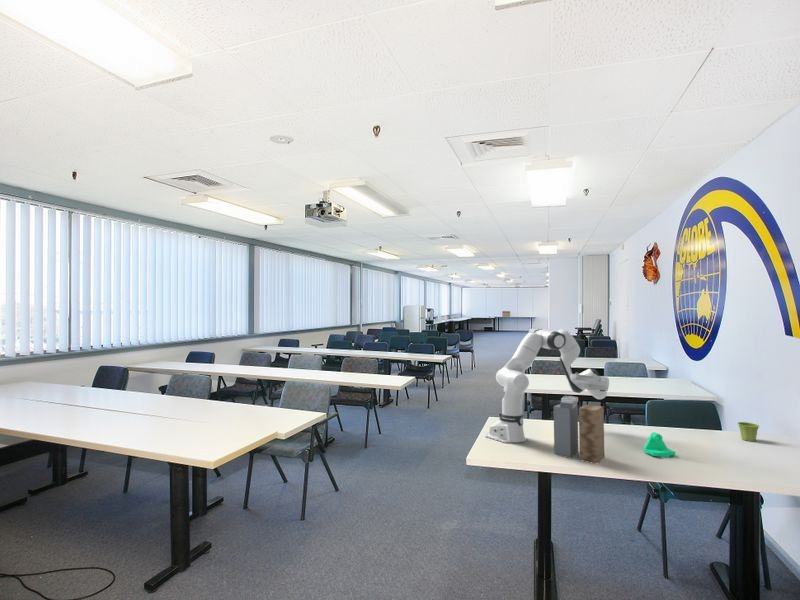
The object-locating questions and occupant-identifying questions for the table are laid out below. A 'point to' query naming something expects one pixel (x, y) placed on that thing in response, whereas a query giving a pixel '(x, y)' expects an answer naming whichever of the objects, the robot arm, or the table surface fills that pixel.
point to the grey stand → (565, 431)
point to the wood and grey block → (568, 402)
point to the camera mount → (657, 446)
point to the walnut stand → (591, 433)
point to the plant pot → (748, 431)
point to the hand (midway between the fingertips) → (585, 374)
